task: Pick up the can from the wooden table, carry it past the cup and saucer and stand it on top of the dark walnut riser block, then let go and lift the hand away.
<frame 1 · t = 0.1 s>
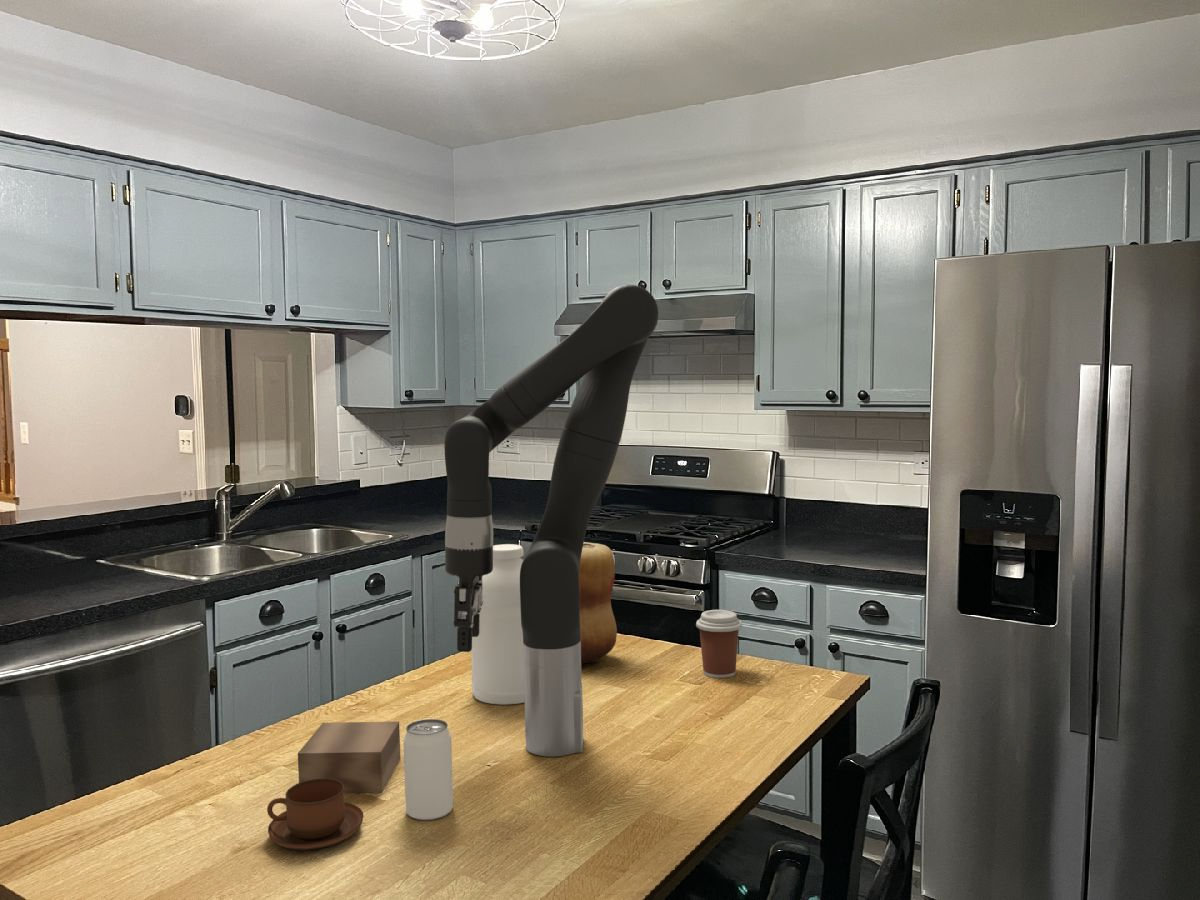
hand: (468, 643, 149), 17 cm above the table, tool pointing down, fingers open, 8 cm apart
bottle: (509, 694, 177), on the table
can: (429, 812, 129), on the table
walnut block: (352, 775, 141), on the table
coffee cup: (719, 673, 186), on the table
butternut squash: (585, 662, 195), on the table
cup and saucer: (317, 837, 123), on the table
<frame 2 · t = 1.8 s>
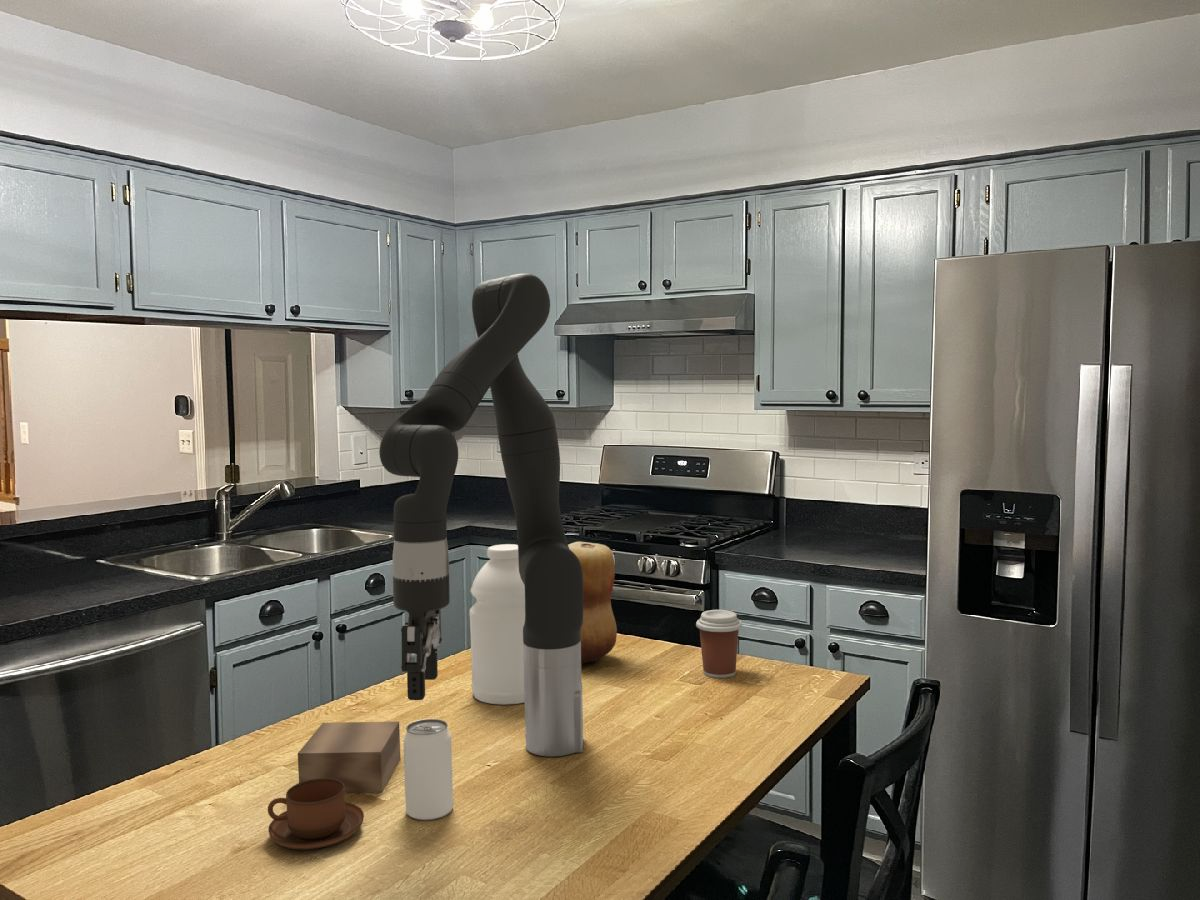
hand: (423, 688, 128), 17 cm above the table, tool pointing down, fingers open, 8 cm apart
nothing on the table moved.
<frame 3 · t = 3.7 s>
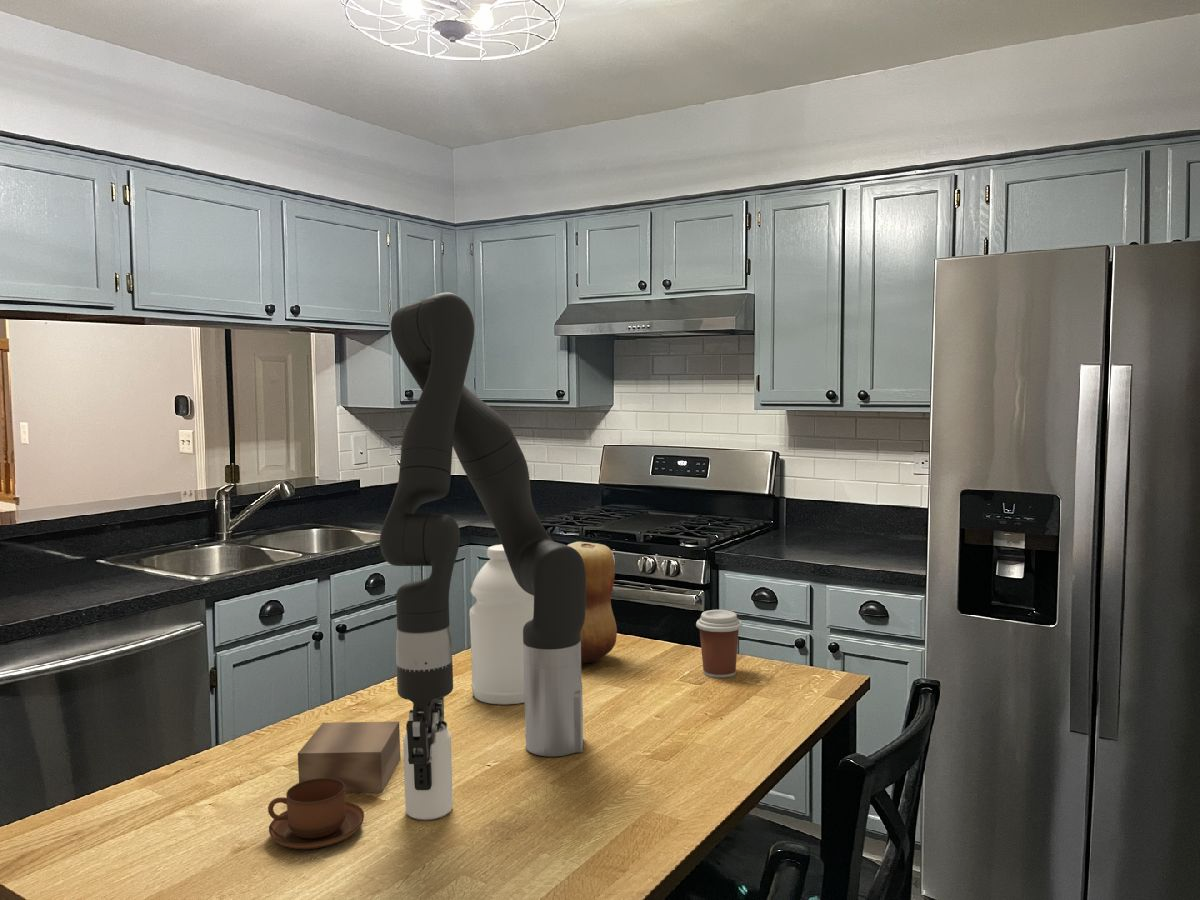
hand: (428, 777, 128), 5 cm above the table, tool pointing down, fingers closed on can, 6 cm apart
can: (429, 812, 129), on the table, touching gripper
everything else where it was.
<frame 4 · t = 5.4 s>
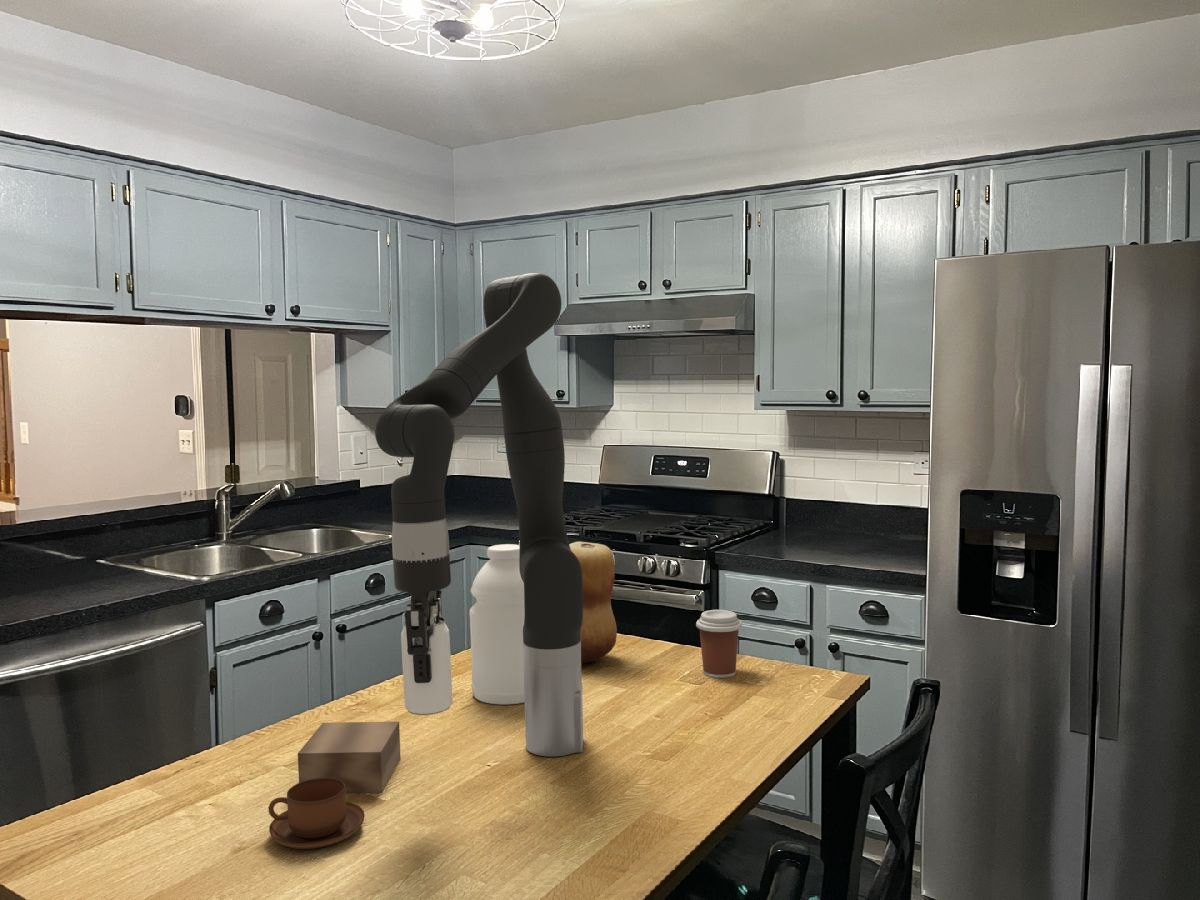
hand: (427, 673, 127), 19 cm above the table, tool pointing down, fingers closed on can, 6 cm apart
can: (429, 708, 127), point 14 cm above the table, touching gripper
everything else where it was.
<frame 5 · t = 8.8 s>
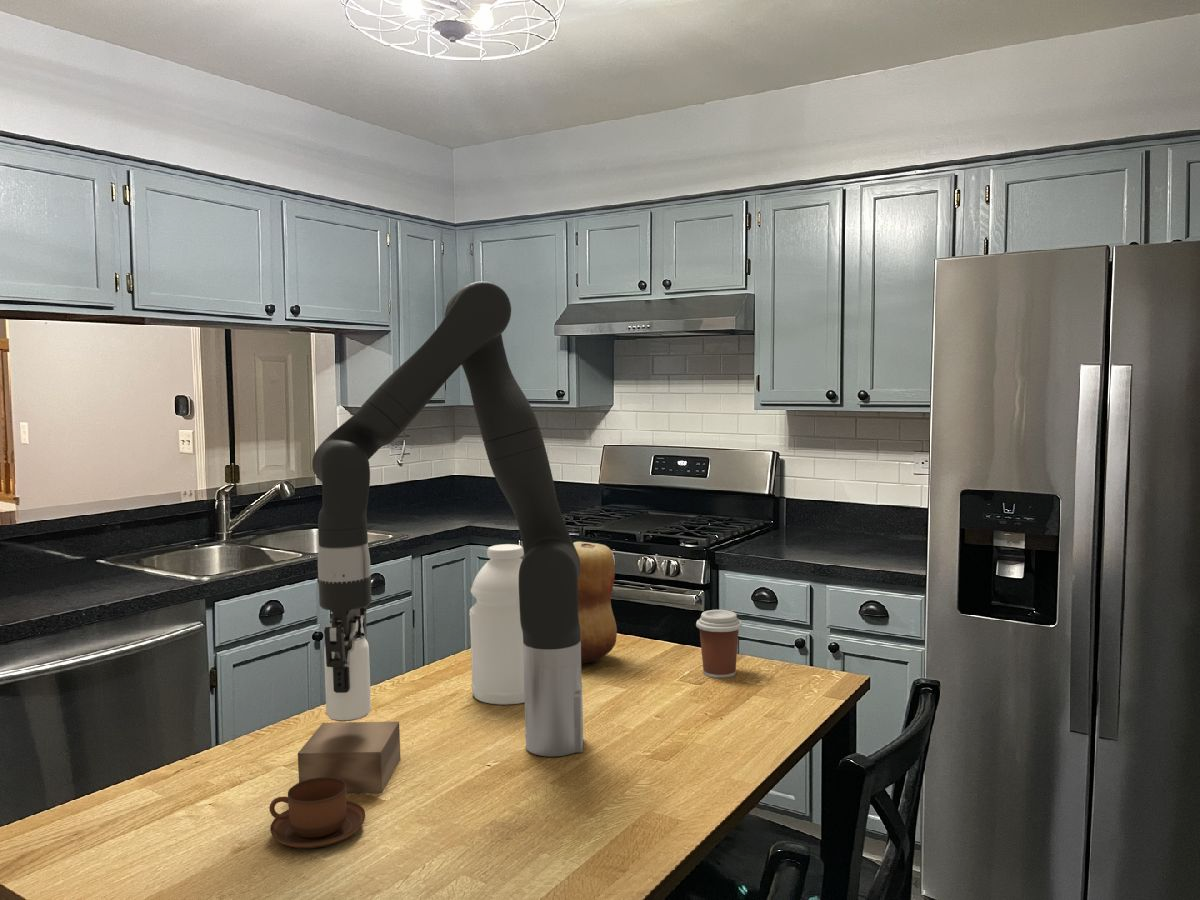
hand: (348, 683, 140), 14 cm above the table, tool pointing down, fingers closed on can, 6 cm apart
can: (348, 715, 140), point 9 cm above the table, touching gripper
everything else where it was.
when the fingers open (12 cm above the table, at t = 10.3 s): can stays where it is, resting on walnut block.
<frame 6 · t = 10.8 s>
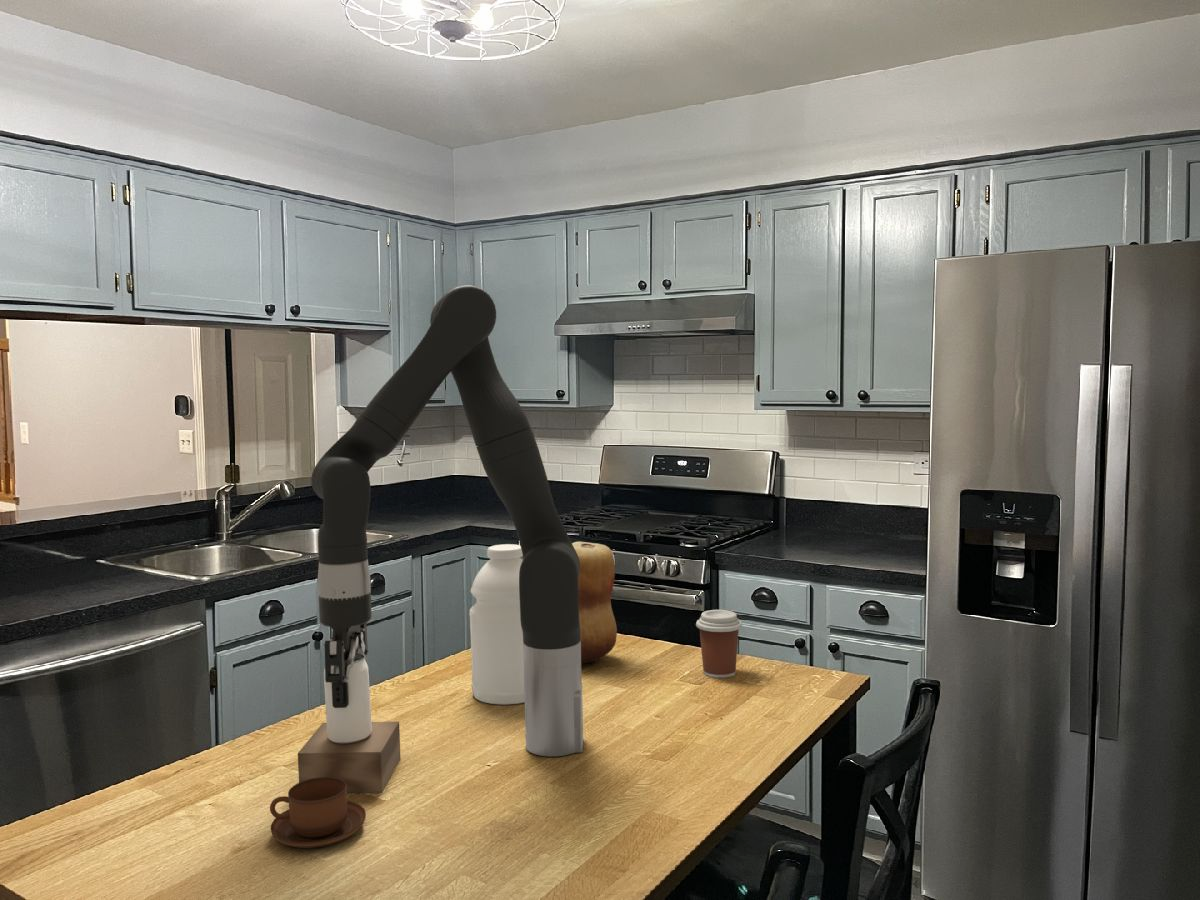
hand: (348, 697, 140), 12 cm above the table, tool pointing down, fingers open, 8 cm apart
can: (350, 737, 140), point 6 cm above the table, touching walnut block
everything else where it was.
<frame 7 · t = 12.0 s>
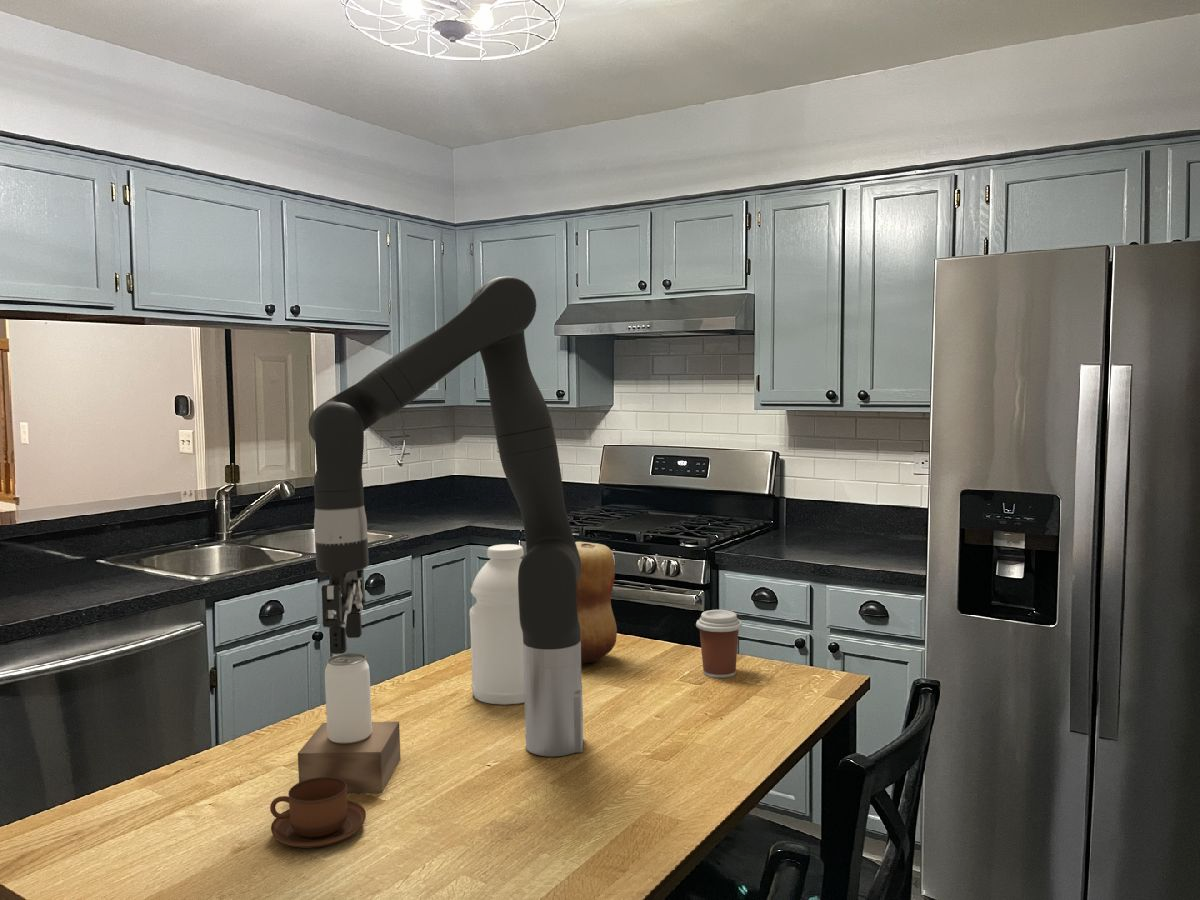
hand: (346, 644, 139), 20 cm above the table, tool pointing down, fingers open, 8 cm apart
nothing on the table moved.
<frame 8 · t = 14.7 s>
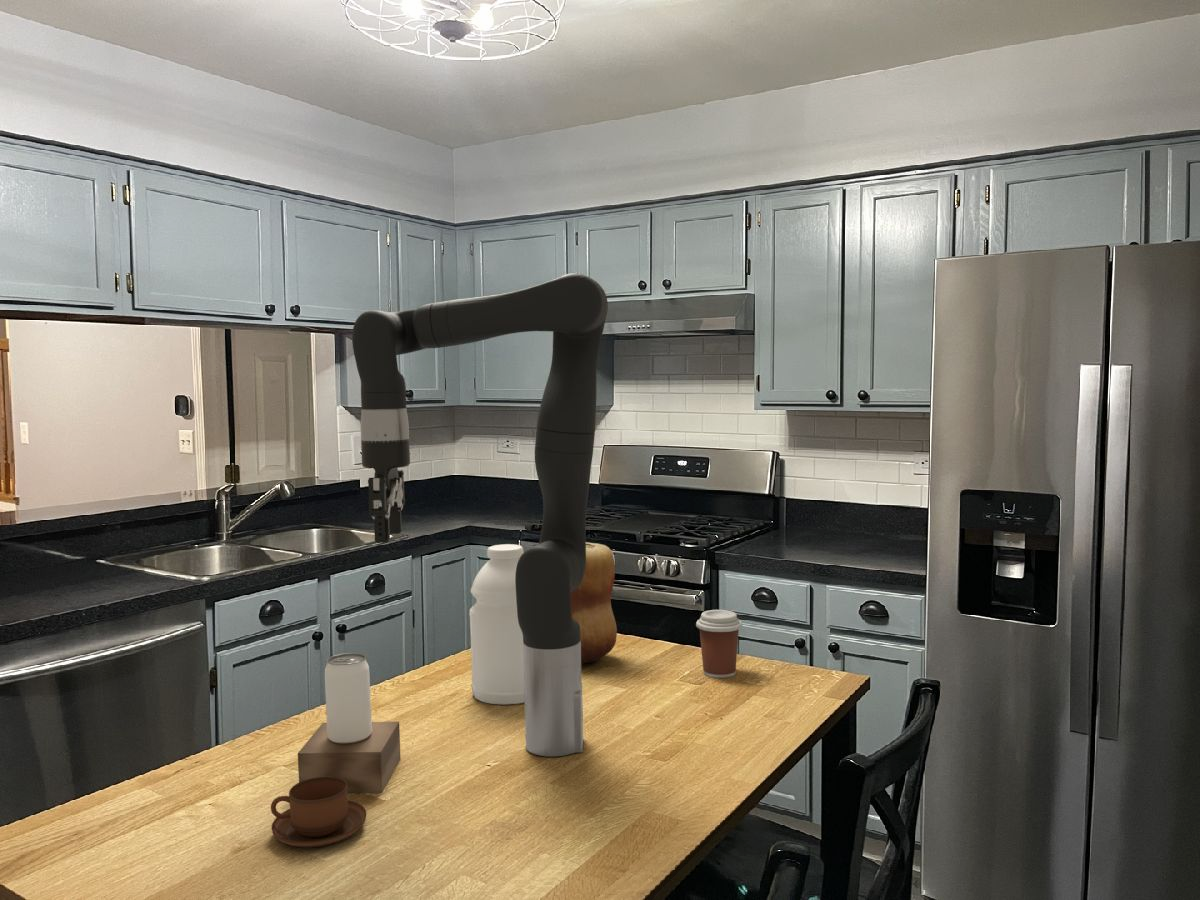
hand: (388, 537, 150), 34 cm above the table, tool pointing down, fingers open, 8 cm apart
nothing on the table moved.
at the end: can inside the target area on the walnut block (0.1 cm from its centre), point 5.8 cm above the walnut block's base; can tilted 0°; the gripper is holding nothing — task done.
